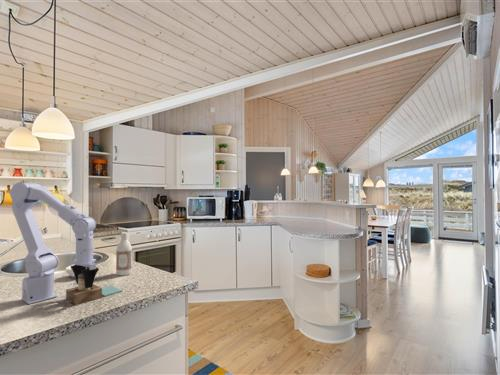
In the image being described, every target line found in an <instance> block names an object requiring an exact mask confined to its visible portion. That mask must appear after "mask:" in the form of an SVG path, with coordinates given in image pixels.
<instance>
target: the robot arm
mask: <svg viewBox="0 0 500 375" xmlns="http://www.w3.org/2000/svg"><path fill="white" fill-rule="evenodd" d="M8 193H9V196H10V198H11V209H12V212H13V216H14V218H15V220H16V223H17V225H18V228H19V231H20V233H21V236H22V238H23V241H24V244H25V246H26V249H27V251H28V252H27V255H26V256H25V257H24V263H25V272H26V273H27V275H28V276H26V277H23V279H22V288H21V290H22V291H21V292H22V294H21V296H22V297H21V300H22V301H23V302H25V303H26V304H28V305H30V304H35V303H38V302H42V301H46V300H49V299H54V298H57V297H59V294H57V293H55V272H56V268H58V265H59V263H60V261H59V260H60V259H59V258H58V256H57V255H56V254H55V253H54V251H53V249H52V248H49V247H47V246H46V244H45V240H44V238H43V235H42V232H41V230H40V228H39V225H38V222H37V219H36V217H35V215H34V212H33V208H34V206H35V205H36V204H37V203H38V202H39V201H41V202H43V203H44V204H46V205H47V206H49V207H50V208H51V209H53V210H55V211H56V212H57V214H58V217H59V218H60V219H61V220H63V221H64V222H65V223H66V224H68V225H70V226H71V229H72V231H73V233H74V236H75V258H73V264H72V265H73V266H71V265H70V266H71V269H72V270H73V272H74V275H75V277H74V278H75V279H74V280H75V282H76V285H78V275H79V274H83V277H84V283H85V288H90V287H92V286H93V284H94V282H95V278H96V275H97V273H99V272H98V271H99V270H100V269H99V267H97V264H96V263H95V262H97V259H96V258H94V230H95V229H96V227H97V222H96V220H95V219H94V217H92V216H87V215H86V214H85V213H82V212H80V210H79V209H77V206H75V205H73V204H72V205H71V204H67V205H66V204H65V203H64V202H63V201H62V200H60V199H59V198H58V197H57V196H55V194H53V193H52V192H51V191H50V190H49V188H48V187H47V186H45V185H44V184H43V183H42V182H41V183H40V182H35V183H33V182H16V183H14V184H13V186H12V187H11V189H10V190H9V192H8ZM74 264H75V265H74ZM86 268H87V269H86Z"/></svg>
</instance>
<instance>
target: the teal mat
mask: <svg viewBox="0 0 500 375" xmlns="http://www.w3.org/2000/svg"><path fill="white" fill-rule="evenodd" d="M101 288H102V297H103V298H104V297H109V296H112V295H115V294H116V295H117V294H119V293H122V292H123V290H122V289H120V288H118V287H115V286H113V285H108V286H105V287H101Z"/></svg>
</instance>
